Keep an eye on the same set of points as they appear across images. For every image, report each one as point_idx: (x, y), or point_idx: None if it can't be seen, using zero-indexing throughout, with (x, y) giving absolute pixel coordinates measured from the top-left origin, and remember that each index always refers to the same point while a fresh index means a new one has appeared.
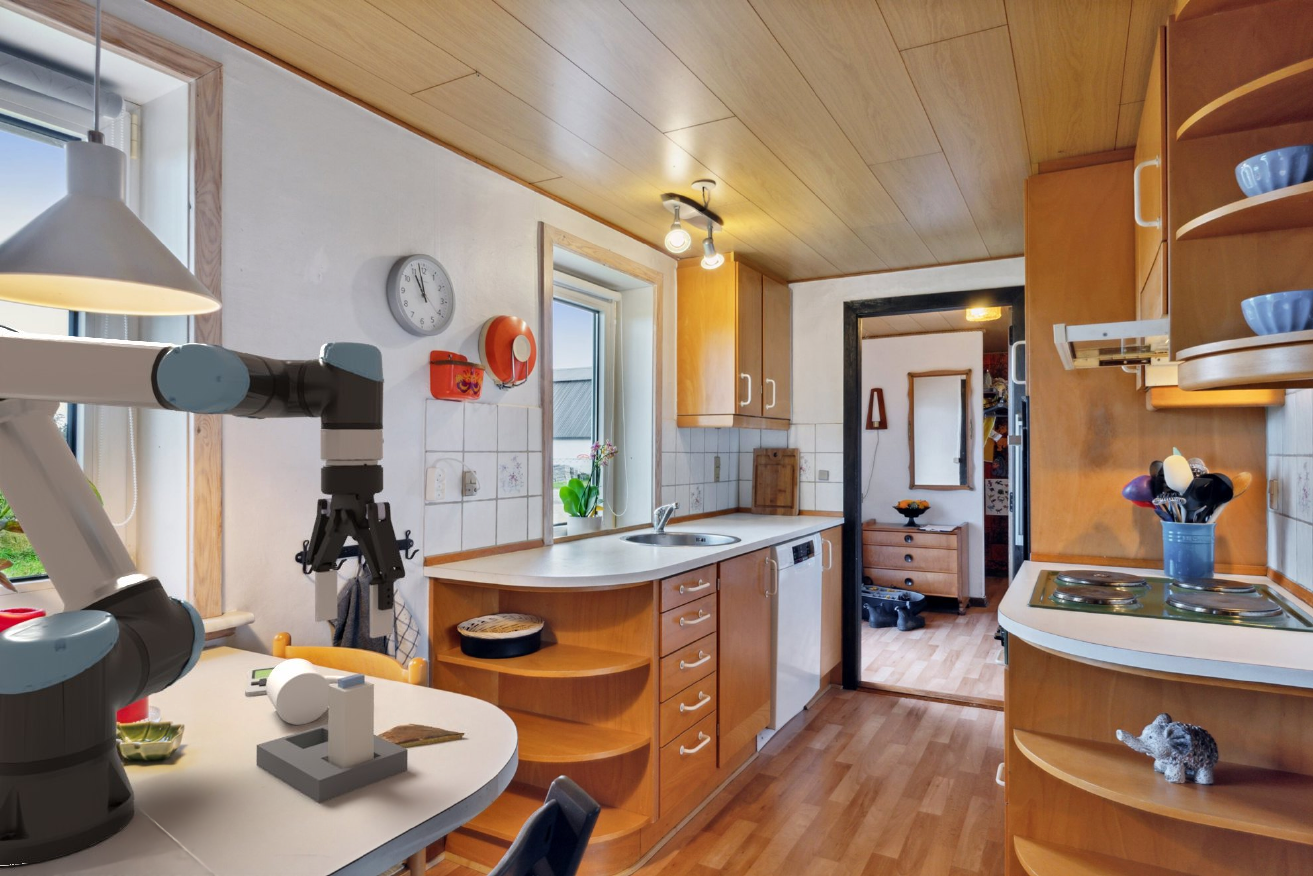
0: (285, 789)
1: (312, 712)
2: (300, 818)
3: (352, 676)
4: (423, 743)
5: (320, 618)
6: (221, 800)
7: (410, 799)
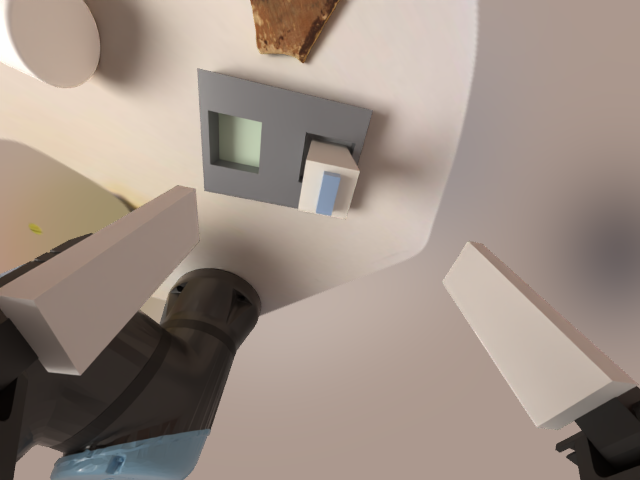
0: None
1: (86, 30)
2: (345, 227)
3: (326, 192)
4: (328, 17)
5: (194, 238)
6: (260, 236)
7: (412, 159)
